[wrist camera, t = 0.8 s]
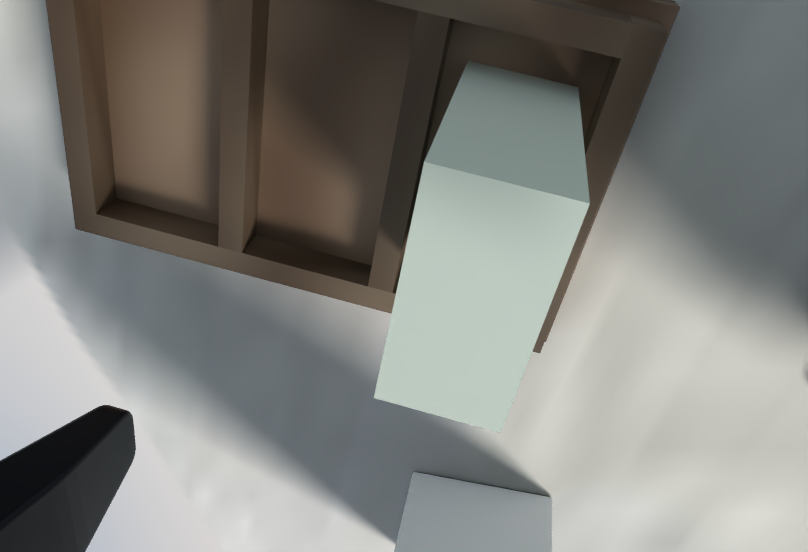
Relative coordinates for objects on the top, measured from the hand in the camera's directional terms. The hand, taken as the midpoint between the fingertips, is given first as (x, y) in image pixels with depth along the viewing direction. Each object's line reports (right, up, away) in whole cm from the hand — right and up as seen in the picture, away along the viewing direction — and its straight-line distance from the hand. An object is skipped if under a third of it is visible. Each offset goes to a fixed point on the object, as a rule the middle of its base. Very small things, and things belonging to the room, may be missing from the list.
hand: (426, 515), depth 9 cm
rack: (-2, +8, +11) cm, 14 cm away
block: (+2, +6, +10) cm, 12 cm away
